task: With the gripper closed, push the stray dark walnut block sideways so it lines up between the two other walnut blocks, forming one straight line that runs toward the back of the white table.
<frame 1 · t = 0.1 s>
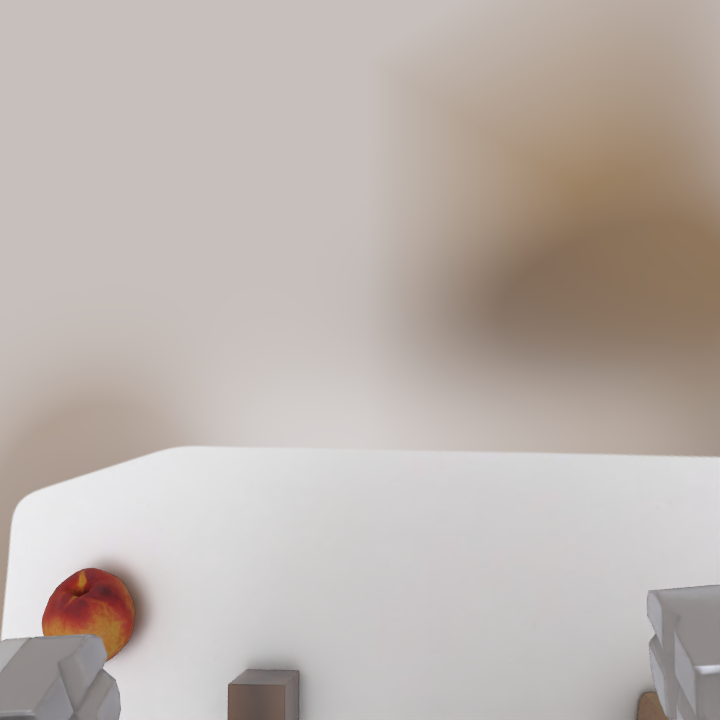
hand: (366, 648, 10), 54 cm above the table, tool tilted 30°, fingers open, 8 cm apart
fruit: (113, 611, 66), on the table
middle block: (272, 699, 62), on the table
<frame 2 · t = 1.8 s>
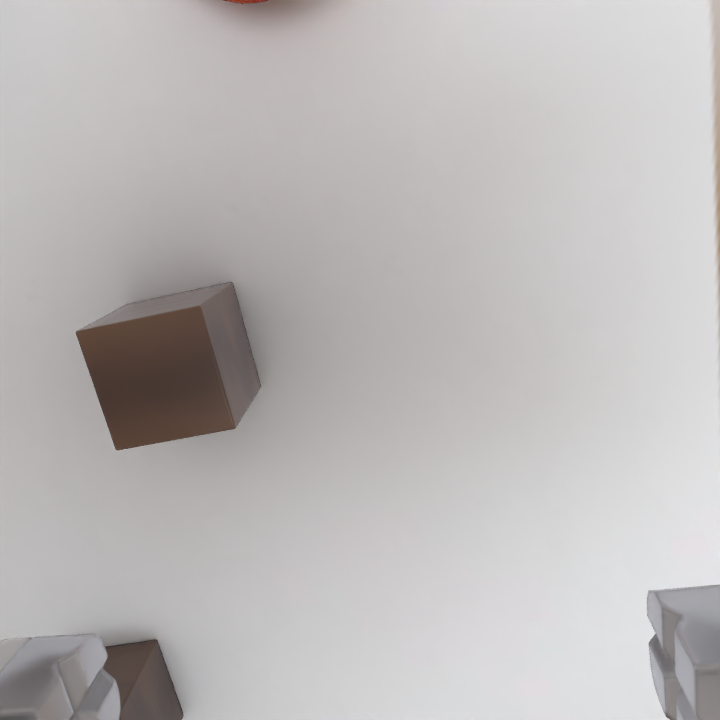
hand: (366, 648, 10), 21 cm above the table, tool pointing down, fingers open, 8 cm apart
middle block: (194, 346, 31), on the table
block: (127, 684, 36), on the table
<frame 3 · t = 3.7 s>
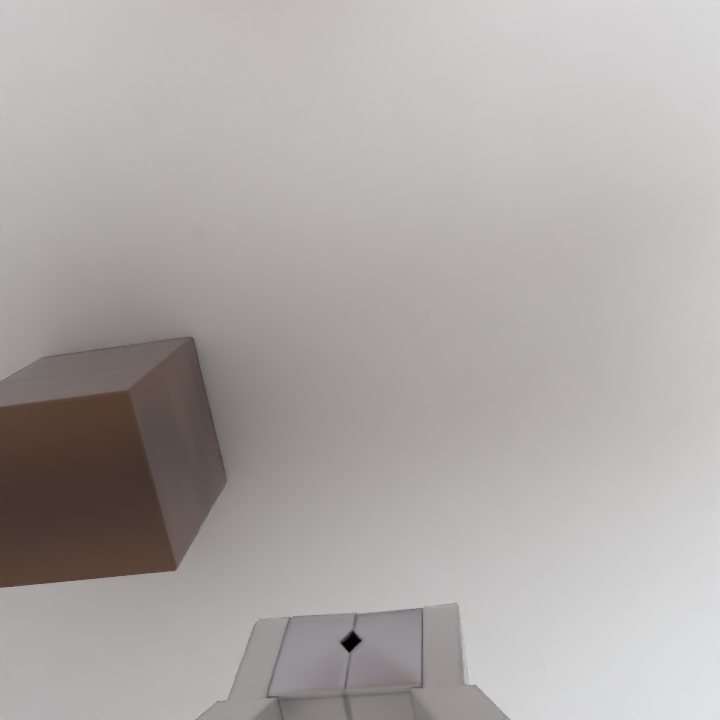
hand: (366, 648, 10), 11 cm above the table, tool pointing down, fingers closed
middle block: (136, 420, 22), on the table
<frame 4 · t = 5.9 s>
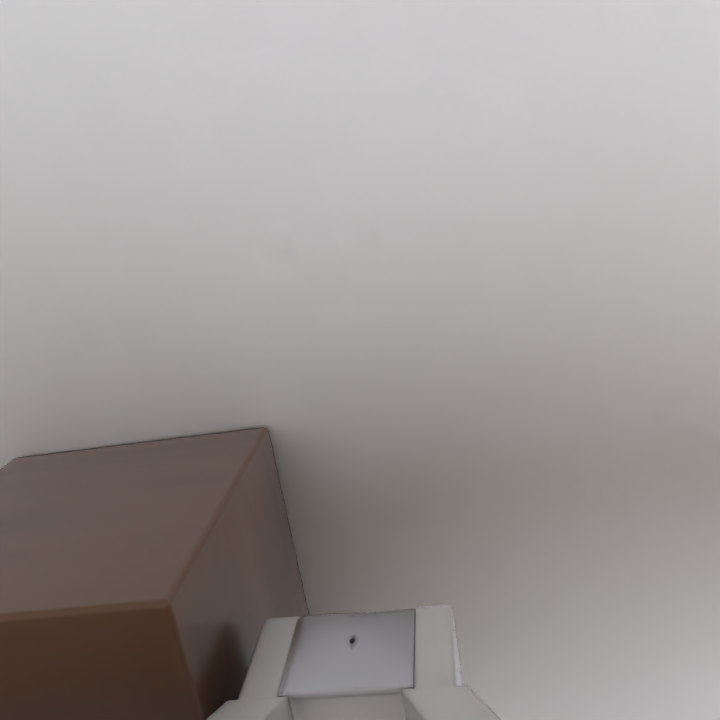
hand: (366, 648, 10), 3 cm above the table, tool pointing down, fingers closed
middle block: (170, 559, 13), on the table, touching gripper
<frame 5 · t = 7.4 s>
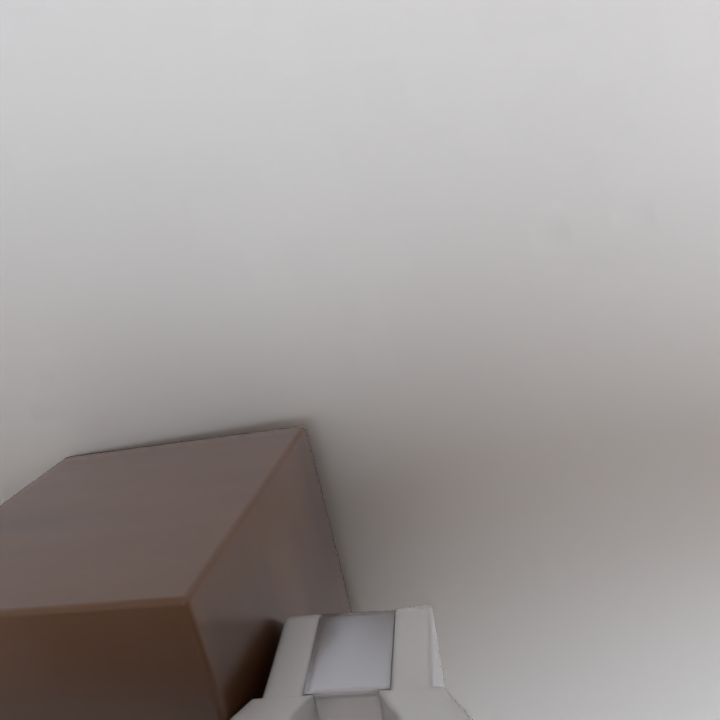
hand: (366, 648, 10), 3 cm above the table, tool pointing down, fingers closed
middle block: (215, 557, 13), on the table, tilted 8°, touching gripper
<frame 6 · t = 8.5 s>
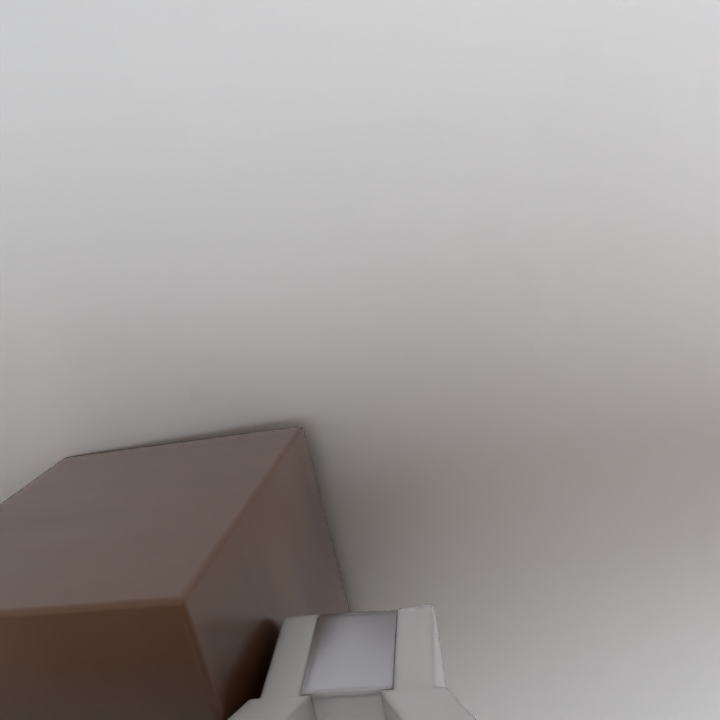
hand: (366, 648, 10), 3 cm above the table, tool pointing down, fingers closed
middle block: (213, 557, 13), on the table, tilted 8°, touching gripper
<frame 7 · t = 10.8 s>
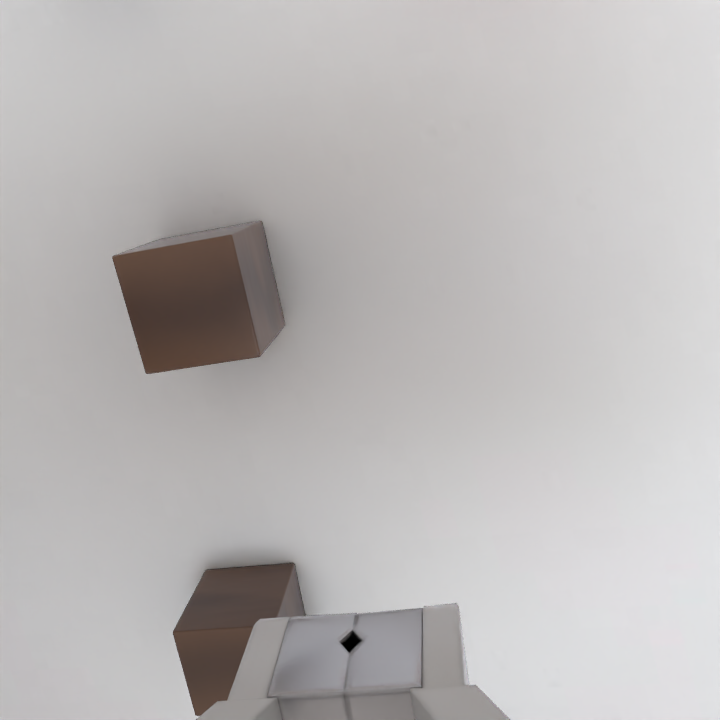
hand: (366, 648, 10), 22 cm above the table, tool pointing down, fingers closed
middle block: (223, 282, 32), on the table
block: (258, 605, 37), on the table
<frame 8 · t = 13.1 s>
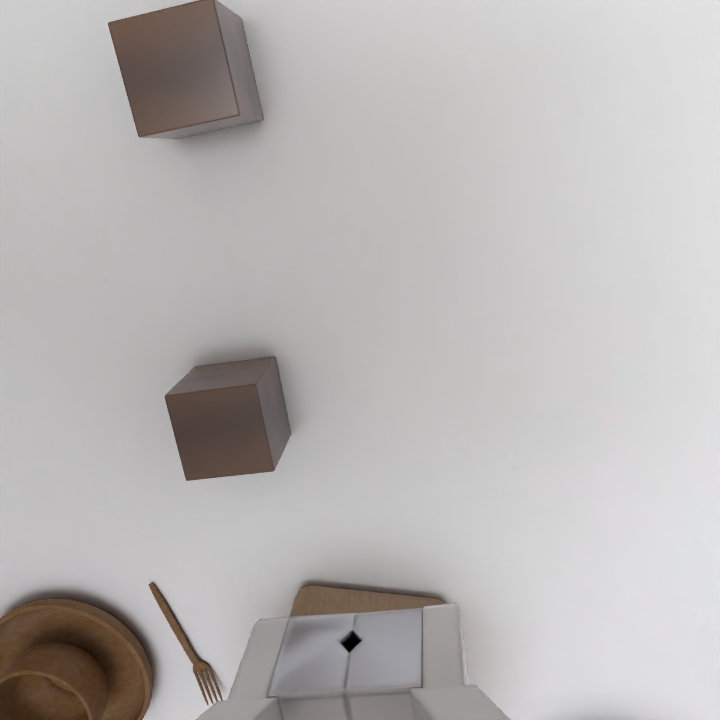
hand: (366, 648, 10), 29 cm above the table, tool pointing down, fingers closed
place setting: (108, 702, 49), on the table
wooden block: (369, 647, 45), on the table
middle block: (207, 80, 35), on the table
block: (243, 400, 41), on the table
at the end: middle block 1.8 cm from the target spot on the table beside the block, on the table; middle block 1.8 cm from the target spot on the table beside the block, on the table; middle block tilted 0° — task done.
